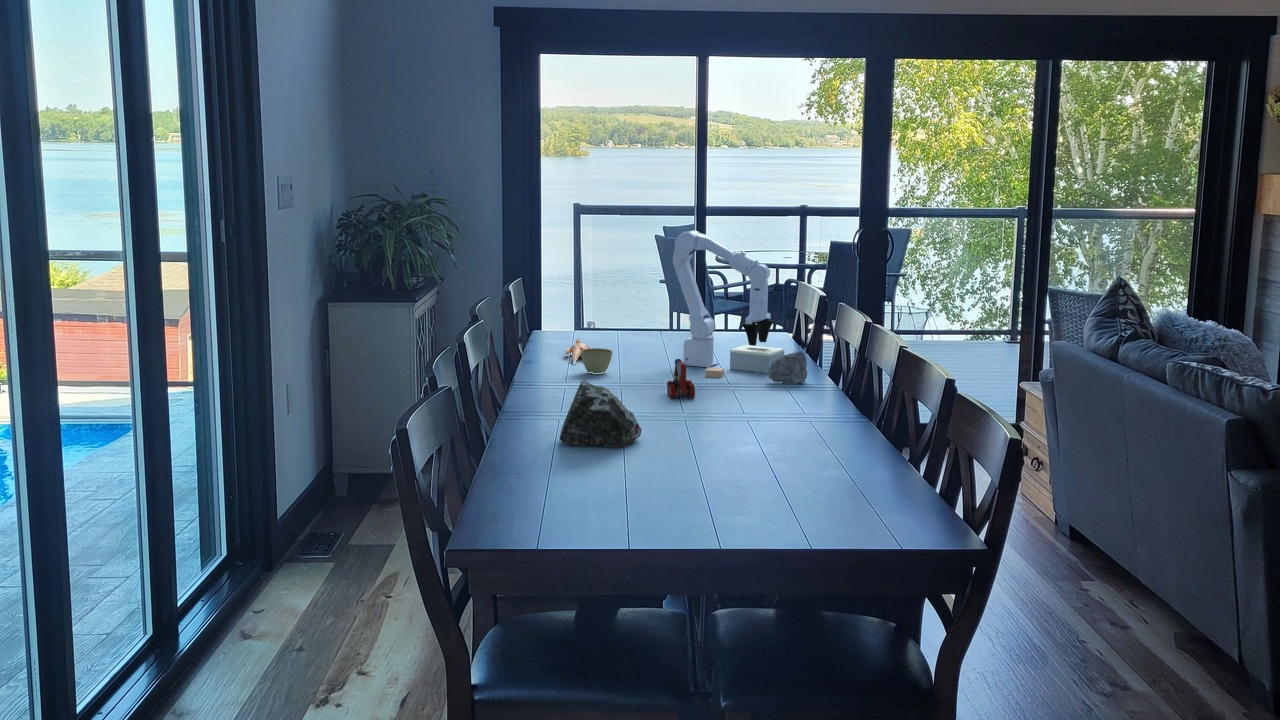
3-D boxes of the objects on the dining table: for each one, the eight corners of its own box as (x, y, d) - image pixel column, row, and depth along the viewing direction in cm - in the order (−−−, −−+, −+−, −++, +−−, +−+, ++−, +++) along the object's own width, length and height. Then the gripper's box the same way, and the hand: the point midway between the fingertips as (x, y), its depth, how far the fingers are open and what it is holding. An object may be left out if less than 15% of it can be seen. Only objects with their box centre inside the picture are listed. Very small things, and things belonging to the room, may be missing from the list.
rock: (806, 381, 331) (807, 349, 329) (808, 385, 326) (809, 352, 324) (767, 381, 332) (768, 348, 330) (768, 384, 326) (769, 351, 324)
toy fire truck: (689, 391, 316) (689, 356, 314) (695, 400, 304) (696, 364, 302) (665, 391, 315) (666, 356, 313) (671, 401, 303) (671, 364, 301)
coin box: (729, 369, 350) (730, 349, 349) (745, 363, 359) (745, 344, 358) (769, 373, 343) (769, 353, 342) (783, 368, 352) (784, 348, 351)
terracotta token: (705, 377, 338) (705, 370, 337) (707, 374, 342) (708, 367, 342) (721, 378, 336) (721, 371, 336) (723, 375, 341) (723, 368, 341)
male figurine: (567, 355, 355) (563, 337, 379) (567, 370, 356) (563, 351, 380) (600, 355, 356) (593, 337, 380) (600, 369, 358) (593, 350, 382)
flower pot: (575, 374, 339) (575, 352, 338) (588, 369, 349) (588, 347, 347) (604, 377, 336) (604, 354, 334) (617, 371, 345) (617, 349, 344)
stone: (595, 469, 245) (620, 411, 241) (535, 430, 252) (558, 373, 248) (635, 459, 261) (659, 405, 257) (578, 423, 268) (601, 369, 265)
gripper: (760, 305, 339) (759, 347, 342) (779, 300, 351) (778, 341, 354) (739, 303, 343) (738, 345, 345) (759, 298, 355) (758, 339, 357)
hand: (757, 343), depth 350 cm, fingers open, 7 cm apart
